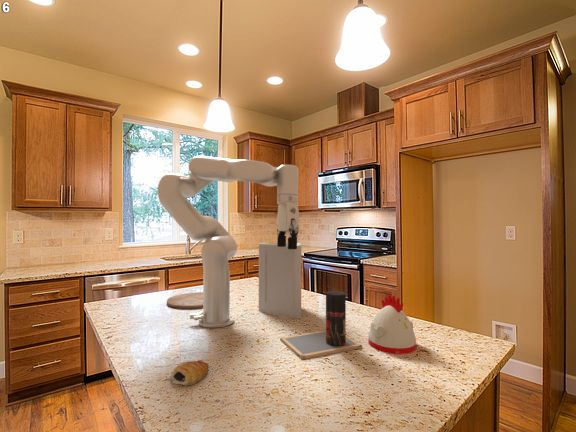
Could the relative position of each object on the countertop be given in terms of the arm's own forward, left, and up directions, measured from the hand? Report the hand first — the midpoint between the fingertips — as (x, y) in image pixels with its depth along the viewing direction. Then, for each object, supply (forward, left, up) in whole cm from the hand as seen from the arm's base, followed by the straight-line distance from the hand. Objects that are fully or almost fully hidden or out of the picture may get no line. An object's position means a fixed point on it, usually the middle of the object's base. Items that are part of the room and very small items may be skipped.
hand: (286, 247), depth 114 cm
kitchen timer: (+23, -28, -28) cm, 46 cm away
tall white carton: (+8, +18, -28) cm, 35 cm away
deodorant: (+7, -21, -27) cm, 35 cm away
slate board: (+3, -19, -28) cm, 34 cm away
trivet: (-25, +48, -29) cm, 61 cm away
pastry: (-36, -24, -28) cm, 52 cm away
